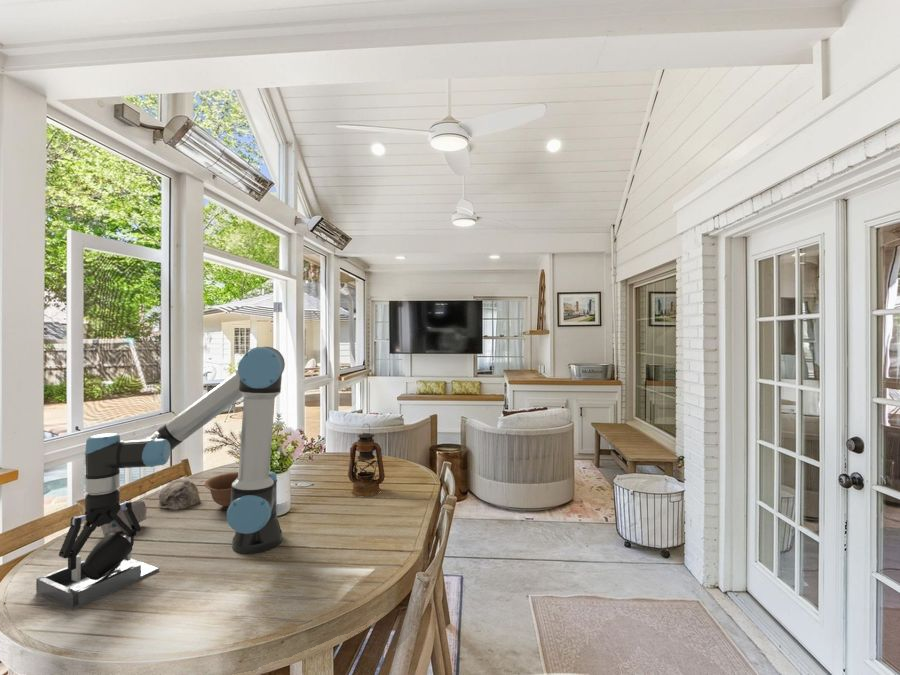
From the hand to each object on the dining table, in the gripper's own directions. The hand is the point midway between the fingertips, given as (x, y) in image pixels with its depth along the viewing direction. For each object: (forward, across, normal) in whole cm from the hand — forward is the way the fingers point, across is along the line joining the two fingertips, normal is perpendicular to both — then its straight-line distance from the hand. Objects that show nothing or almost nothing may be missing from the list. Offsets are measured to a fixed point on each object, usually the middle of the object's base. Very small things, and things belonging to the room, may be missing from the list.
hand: (102, 569), depth 124 cm
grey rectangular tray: (+3, +1, 0) cm, 4 cm away
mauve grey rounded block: (+4, -22, -30) cm, 37 cm away
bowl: (+4, -55, -15) cm, 57 cm away
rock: (+4, -46, -36) cm, 59 cm away
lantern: (+4, -91, +23) cm, 94 cm away
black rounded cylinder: (0, +4, +2) cm, 5 cm away
